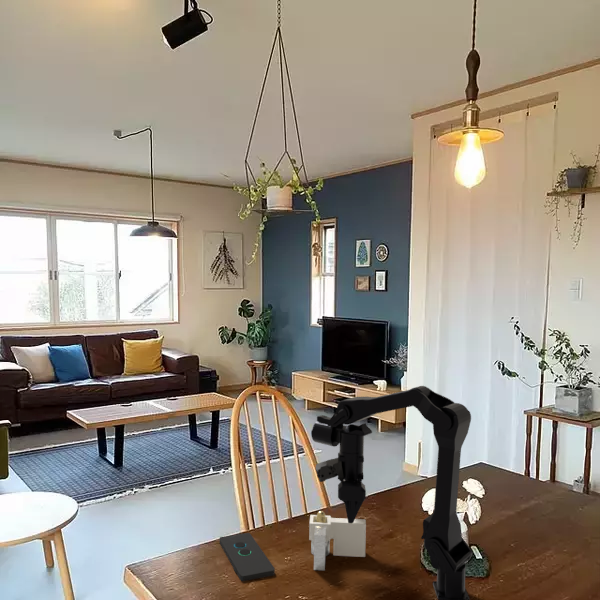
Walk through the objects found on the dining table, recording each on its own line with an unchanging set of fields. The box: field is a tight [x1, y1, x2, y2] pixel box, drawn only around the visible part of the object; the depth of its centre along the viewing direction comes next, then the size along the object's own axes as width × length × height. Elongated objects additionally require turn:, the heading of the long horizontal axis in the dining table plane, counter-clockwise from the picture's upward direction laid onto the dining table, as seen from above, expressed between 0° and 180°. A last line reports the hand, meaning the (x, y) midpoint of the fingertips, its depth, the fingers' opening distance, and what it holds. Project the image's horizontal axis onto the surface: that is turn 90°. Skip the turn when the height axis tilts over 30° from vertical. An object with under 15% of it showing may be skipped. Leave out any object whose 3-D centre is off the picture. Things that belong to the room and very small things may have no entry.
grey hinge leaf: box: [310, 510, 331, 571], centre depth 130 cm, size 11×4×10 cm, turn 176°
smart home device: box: [219, 532, 276, 582], centre depth 130 cm, size 8×2×20 cm
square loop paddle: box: [308, 514, 367, 558], centre depth 133 cm, size 5×13×8 cm, turn 86°
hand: (350, 514), depth 133 cm, fingers open, 9 cm apart
